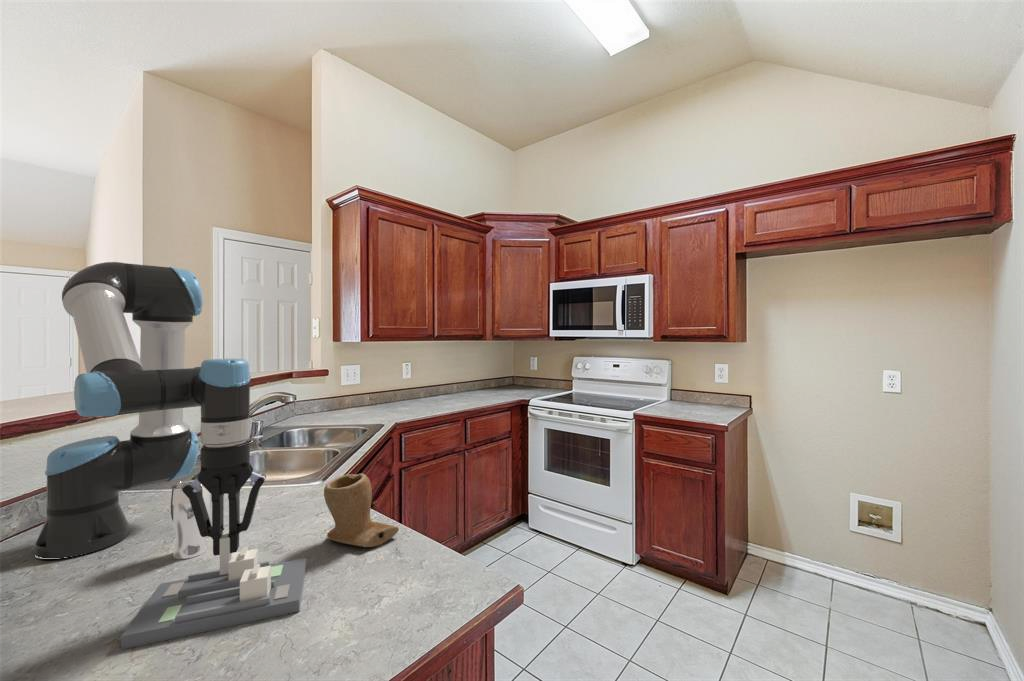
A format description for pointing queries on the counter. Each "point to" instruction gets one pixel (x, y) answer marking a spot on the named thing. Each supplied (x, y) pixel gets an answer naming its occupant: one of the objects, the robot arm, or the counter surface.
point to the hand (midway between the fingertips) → (226, 570)
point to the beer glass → (187, 523)
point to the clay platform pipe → (354, 512)
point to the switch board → (213, 604)
